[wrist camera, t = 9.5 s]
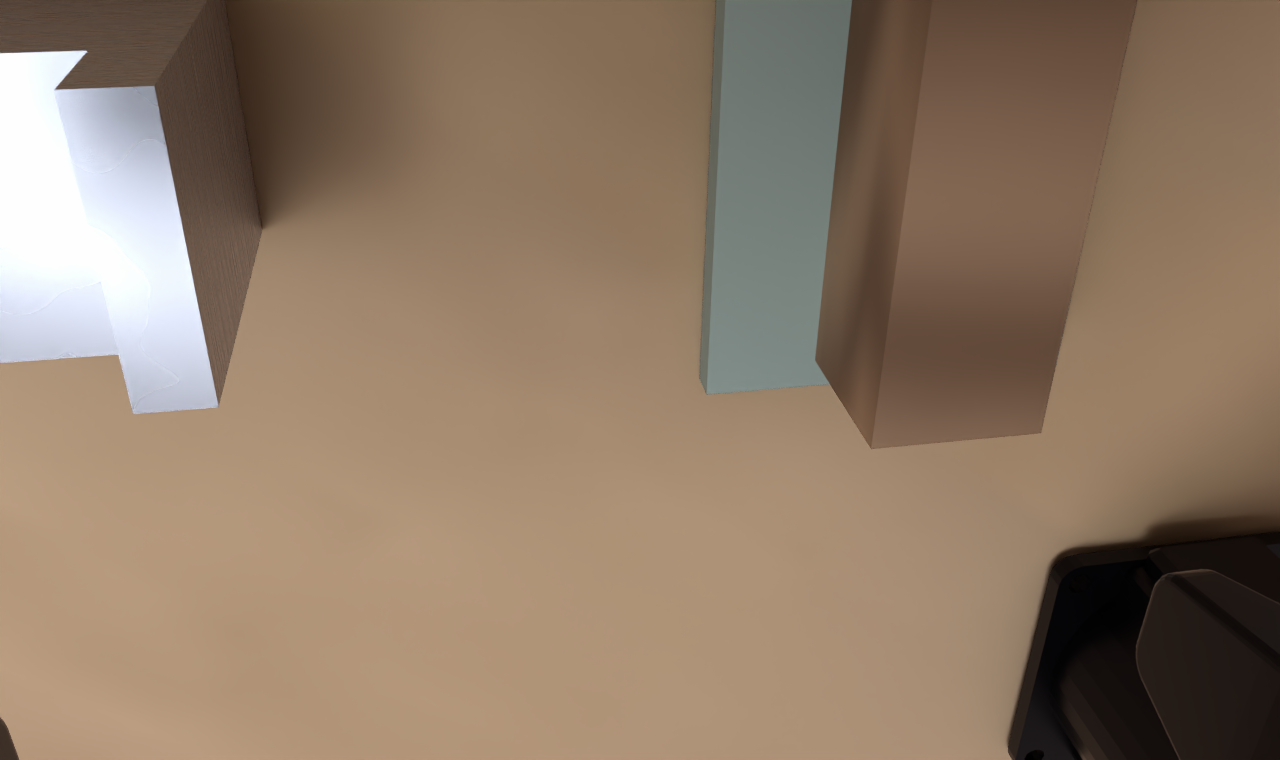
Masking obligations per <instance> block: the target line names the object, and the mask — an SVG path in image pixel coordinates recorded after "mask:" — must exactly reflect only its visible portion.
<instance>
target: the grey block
mask: <svg viewBox="0 0 1280 760" xmlns="http://www.w3.org/2000/svg"><path fill="white" fill-rule="evenodd" d="M261 234H262V227H261V221H260V214H259V208H258V202H257V196H256V190H255V184H254V178H253V172H252V165H251V159H250V153H249V147H248V141H247V135H246V129H245V123H244V117H243V110H242V104H241V98H240V92H239V86H238V80H237V74H236V68H235V61H234V55H233V49H232V43H231V37H230V31H229V25H228V19H227V12H226V6H225V0H0V363H6V362H20V361H34V360H47V359H61V358H75V357H89V356H103V355H116V354H119V358H120V362H121V367H122V371H123V375H124V379H125V383H126V387H127V391H128V395H129V399H130V403H131V407H132V411H133V414H141V413H153V412H166V411H178V410H190V409H203V408H215V407H219V403H220V399H221V395H222V391H223V387H224V383H225V379H226V375H227V371H228V367H229V363H230V359H231V355H232V351H233V347H234V343H235V339H236V335H237V331H238V327H239V323H240V318H241V314H242V310H243V306H244V302H245V298H246V294H247V290H248V286H249V282H250V278H251V274H252V270H253V266H254V262H255V258H256V254H257V250H258V246H259V242H260V238H261Z"/></svg>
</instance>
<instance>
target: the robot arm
mask: <svg viewBox="0 0 1280 760" xmlns="http://www.w3.org/2000/svg"><path fill="white" fill-rule="evenodd" d="M1076 576H1078V577H1076ZM1075 577H1076V578H1075ZM1074 578H1075V579H1074ZM1072 579H1074V580H1072ZM1008 753H1009V755H1010V757H1011V758H1012V760H1280V532H1273V533H1264V534H1256V535H1247V536H1238V537H1229V538H1220V539H1211V540H1202V541H1194V542H1185V543H1176V544H1167V545H1158V546H1149V547H1141V548H1132V549H1123V550H1114V551H1105V552H1096V553H1088V554H1079V555H1073V556H1069V557H1066V558H1064V559H1063V560H1061V561H1059V562H1058V563H1057V564H1056V565H1055V567H1054V568H1053V569H1052V572H1051V574H1050V577H1049V581H1048V585H1047V589H1046V593H1045V597H1044V601H1043V606H1042V610H1041V614H1040V618H1039V622H1038V626H1037V630H1036V634H1035V638H1034V643H1033V647H1032V651H1031V655H1030V659H1029V663H1028V667H1027V671H1026V675H1025V680H1024V684H1023V688H1022V692H1021V696H1020V700H1019V704H1018V708H1017V712H1016V717H1015V721H1014V725H1013V729H1012V733H1011V737H1010V741H1009V745H1008ZM0 760H19V758H18V755H17V752H16V749H15V747H14V744H13V741H12V739H11V736H10V733H9V730H8V728H7V726H6V724H5V722H4V721H3V720H2V719H1V718H0Z"/></svg>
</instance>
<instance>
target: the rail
mask: <svg viewBox="0 0 1280 760" xmlns="http://www.w3.org/2000/svg"><path fill="white" fill-rule="evenodd" d="M1136 4H1137V0H852V5H851V15H850V24H849V34H848V44H847V54H846V63H845V73H844V83H843V93H842V102H841V112H840V122H839V131H838V141H837V151H836V161H835V170H834V180H833V190H832V200H831V209H830V219H829V229H828V239H827V248H826V258H825V268H824V278H823V287H822V297H821V307H820V316H819V326H818V336H817V346H816V355H815V361H816V363H817V365H818V366H819V368H820V369H821V371H822V372H823V374H824V376H825V377H826V379H827V380H828V382H829V383H830V385H831V387H832V388H833V390H834V391H835V393H836V394H837V396H838V398H839V399H840V401H841V402H842V404H843V405H844V407H845V409H846V410H847V412H848V413H849V415H850V416H851V418H852V420H853V421H854V423H855V424H856V426H857V427H858V429H859V431H860V432H861V434H862V435H863V437H864V438H865V440H866V442H867V443H868V445H869V446H870V448H871V449H875V448H886V447H897V446H908V445H919V444H929V443H940V442H951V441H962V440H973V439H983V438H994V437H1005V436H1016V435H1027V434H1037V433H1041V430H1042V426H1043V421H1044V417H1045V412H1046V408H1047V403H1048V399H1049V394H1050V390H1051V385H1052V381H1053V376H1054V372H1055V367H1056V363H1057V358H1058V354H1059V349H1060V345H1061V340H1062V336H1063V331H1064V327H1065V322H1066V318H1067V313H1068V309H1069V304H1070V300H1071V295H1072V291H1073V287H1074V282H1075V278H1076V273H1077V269H1078V264H1079V260H1080V255H1081V251H1082V246H1083V242H1084V237H1085V233H1086V228H1087V224H1088V219H1089V215H1090V210H1091V206H1092V201H1093V197H1094V192H1095V188H1096V183H1097V179H1098V174H1099V170H1100V165H1101V161H1102V156H1103V152H1104V147H1105V143H1106V138H1107V134H1108V129H1109V125H1110V120H1111V116H1112V111H1113V107H1114V102H1115V98H1116V94H1117V89H1118V85H1119V80H1120V76H1121V71H1122V67H1123V62H1124V58H1125V53H1126V49H1127V44H1128V40H1129V35H1130V31H1131V26H1132V22H1133V17H1134V13H1135V8H1136Z"/></svg>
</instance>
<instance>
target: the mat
mask: <svg viewBox="0 0 1280 760" xmlns="http://www.w3.org/2000/svg"><path fill="white" fill-rule="evenodd" d="M851 5H852V0H716V11H715V34H714V57H713V79H712V102H711V125H710V148H709V171H708V194H707V217H706V240H705V263H704V286H703V309H702V332H701V355H700V378H699V379H700V381H701V383H702V385H703V388H704V390H705V392H706V394H707V395H708V394H720V393H731V392H743V391H755V390H767V389H779V388H791V387H802V386H814V385H826V384H830V383H829V382H828V380H827V379H826V377H825V376H824V374H823V372H822V371H821V369H820V368H819V366H818V365H817V363H816V361H815V355H816V346H817V336H818V326H819V316H820V307H821V297H822V287H823V278H824V268H825V258H826V248H827V239H828V229H829V219H830V209H831V200H832V190H833V180H834V170H835V161H836V151H837V141H838V131H839V122H840V112H841V102H842V93H843V83H844V73H845V63H846V54H847V44H848V34H849V24H850V15H851ZM1071 296H1072V295H1071ZM1070 301H1071V300H1070ZM1069 305H1070V304H1069ZM1068 310H1069V309H1068ZM1067 314H1068V313H1067ZM1066 319H1067V318H1066ZM1065 323H1066V322H1065ZM1064 328H1065V327H1064ZM1063 332H1064V331H1063ZM1062 337H1063V336H1062ZM1061 341H1062V340H1061ZM1060 346H1061V345H1060ZM1059 350H1060V349H1059ZM1058 355H1059V354H1058ZM1057 359H1058V358H1057ZM1056 364H1057V363H1056Z"/></svg>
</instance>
